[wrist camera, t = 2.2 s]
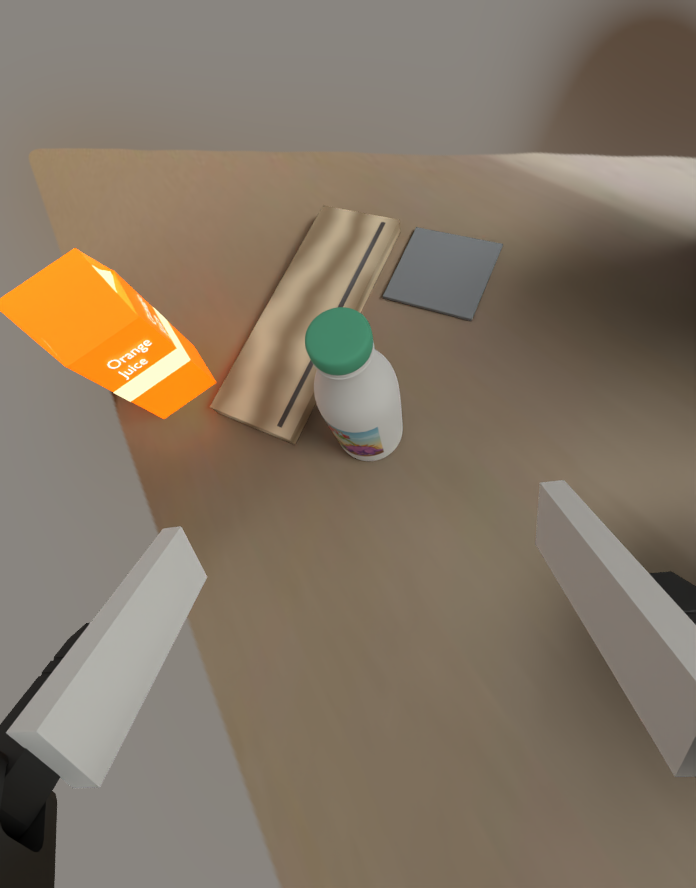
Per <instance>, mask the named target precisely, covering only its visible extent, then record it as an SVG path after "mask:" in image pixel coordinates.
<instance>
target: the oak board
mask: <svg viewBox="0 0 696 888" xmlns="http://www.w3.org/2000/svg"><path fill="white" fill-rule="evenodd" d="M399 234H400V220H398V219H392V218H387V217H382V216H377V215H371V214H366V213H361V212H355V211H350V210H345V209H340V208H334V207H329V206H324V205H323V207H322V208H321V210H320V212H319V214H318V216H317V217H316V219H315V221H314V223H313V224H312V226H311V228H310V230H309V231H308V233H307V235H306V237H305V239H304V240H303V242H302V244H301V246H300V247H299V249H298V251H297V253H296V255H295V256H294V258H293V260H292V262H291V263H290V265H289V267H288V269H287V271H286V272H285V274H284V276H283V278H282V279H281V281H280V283H279V285H278V287H277V288H276V290H275V292H274V294H273V295H272V297H271V299H270V301H269V303H268V304H267V306H266V308H265V310H264V311H263V313H262V315H261V317H260V318H259V320H258V322H257V324H256V326H255V327H254V329H253V331H252V333H251V334H250V336H249V338H248V340H247V342H246V343H245V345H244V347H243V349H242V350H241V352H240V354H239V356H238V358H237V359H236V361H235V363H234V365H233V366H232V368H231V370H230V372H229V374H228V375H227V377H226V379H225V381H224V382H223V384H222V386H221V388H220V390H219V391H218V393H217V395H216V397H215V398H214V400H213V402H212V404H211V406H210V408H212V409H213V410H214V411H216V412H217V413H219V414H222V415H224V416H226V417H229V418H231V419H234V420H236V421H239V422H241V423H243V424H246V425H248V426H251V427H253V428H255V429H258V430H260V431H263V432H265V433H268V434H270V435H272V436H275V437H277V438H280V439H282V440H284V441H287V442H289V443H292V444H294V445H295V444H296V442H297V440H298V438H299V436H300V434H301V432H302V430H303V428H304V426H305V424H306V422H307V420H308V418H309V416H310V414H311V412H312V410H313V408H314V406H315V404H316V400H315V395H314V379H315V374H316V371H317V370H316V368H315V367H314V365H313V362H312V361H311V359H310V358H309V355H308V353H307V351H306V347H305V334H306V331H307V328H308V326H309V325H310V323H311V322H312V321H313V319H314V318H315V317H317V316H318V315H319V314H321V313H322V312H324V311H326V310H329V309H332V308H337V307H346V308H351V309H354V310H356V311H358V312H360V313H361V311H362V309H363V307H364V305H365V303H366V301H367V299H368V297H369V295H370V293H371V291H372V289H373V287H374V285H375V283H376V281H377V279H378V277H379V275H380V272H381V270H382V268H383V266H384V264H385V262H386V260H387V258H388V256H389V254H390V252H391V250H392V248H393V246H394V244H395V242H396V240H397V238H398V236H399Z"/></svg>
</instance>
